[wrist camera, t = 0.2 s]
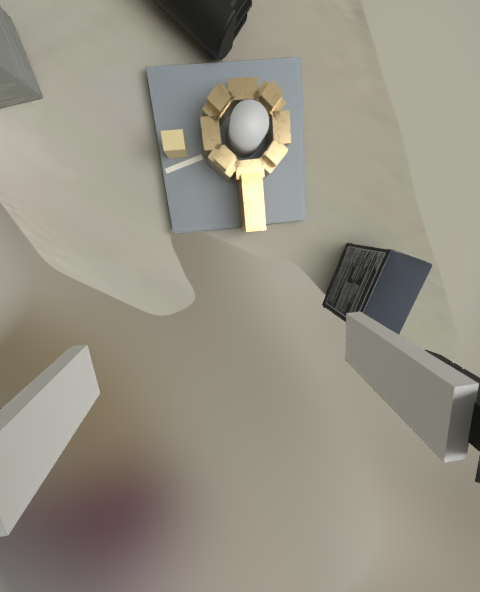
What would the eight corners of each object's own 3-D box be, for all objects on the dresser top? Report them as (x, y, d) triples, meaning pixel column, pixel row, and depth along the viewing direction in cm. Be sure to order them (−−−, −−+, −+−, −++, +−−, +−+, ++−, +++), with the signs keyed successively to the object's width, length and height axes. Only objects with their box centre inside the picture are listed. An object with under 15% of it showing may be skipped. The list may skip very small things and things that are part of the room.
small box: (356, 316, 45) (398, 344, 35) (320, 305, 44) (353, 331, 34) (383, 254, 42) (437, 265, 32) (346, 241, 41) (390, 248, 31)
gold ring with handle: (197, 97, 33) (194, 74, 28) (279, 91, 33) (291, 67, 28) (214, 233, 37) (214, 235, 32) (286, 225, 38) (298, 226, 33)
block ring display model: (148, 73, 33) (128, 25, 25) (297, 63, 34) (324, 15, 26) (174, 233, 38) (164, 236, 30) (303, 219, 40) (326, 219, 31)
